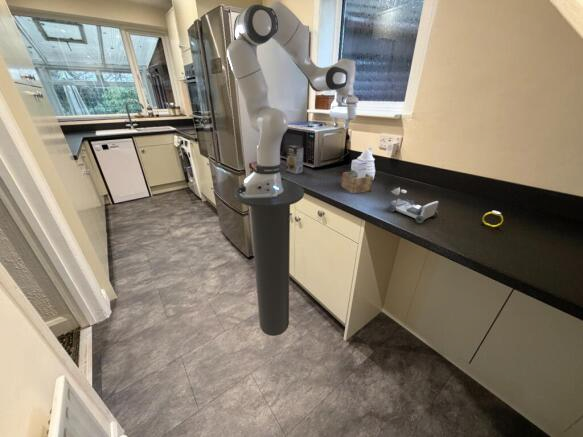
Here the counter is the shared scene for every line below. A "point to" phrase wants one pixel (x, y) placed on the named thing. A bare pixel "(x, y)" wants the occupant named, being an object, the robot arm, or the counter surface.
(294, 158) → the coffee box
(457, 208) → the counter surface
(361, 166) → the syrup box
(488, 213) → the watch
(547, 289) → the counter surface
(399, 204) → the toy car
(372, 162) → the honey pot
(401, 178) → the counter surface
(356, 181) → the box
